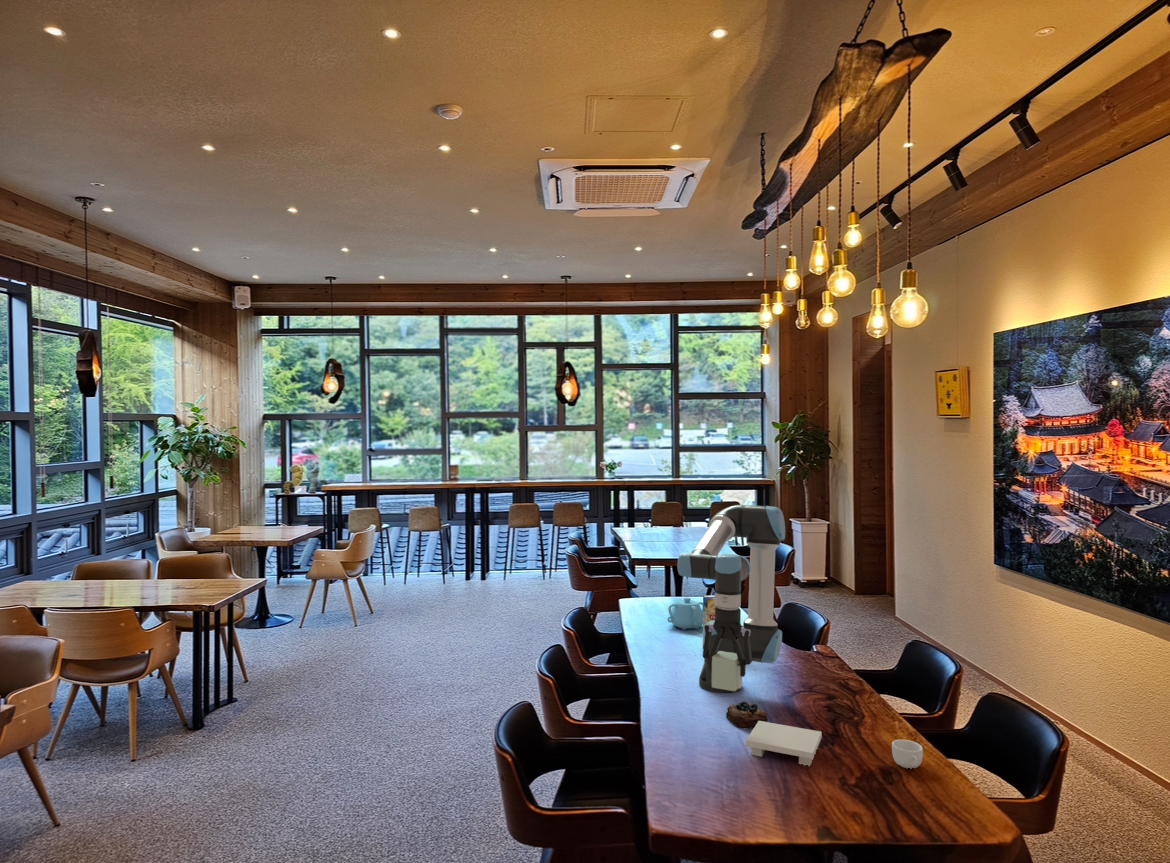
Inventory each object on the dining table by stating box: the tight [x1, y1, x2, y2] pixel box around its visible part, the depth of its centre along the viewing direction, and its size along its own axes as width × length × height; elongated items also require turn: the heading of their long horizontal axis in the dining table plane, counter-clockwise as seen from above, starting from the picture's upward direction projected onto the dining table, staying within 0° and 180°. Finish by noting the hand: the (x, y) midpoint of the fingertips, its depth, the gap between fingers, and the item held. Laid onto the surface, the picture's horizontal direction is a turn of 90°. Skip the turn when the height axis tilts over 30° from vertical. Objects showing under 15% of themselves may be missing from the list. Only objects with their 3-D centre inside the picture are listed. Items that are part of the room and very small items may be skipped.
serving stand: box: [745, 721, 823, 767], centre depth 208 cm, size 16×18×4 cm
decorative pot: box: [666, 597, 703, 631], centre depth 344 cm, size 16×16×14 cm
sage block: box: [712, 651, 740, 692], centre depth 219 cm, size 7×7×9 cm
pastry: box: [725, 700, 769, 729], centre depth 231 cm, size 11×12×6 cm
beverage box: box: [702, 595, 717, 649], centre depth 307 cm, size 7×11×22 cm, turn 98°
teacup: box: [891, 739, 924, 770], centre depth 200 cm, size 10×8×5 cm
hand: (726, 684), depth 218 cm, fingers closed on sage block, 7 cm apart
